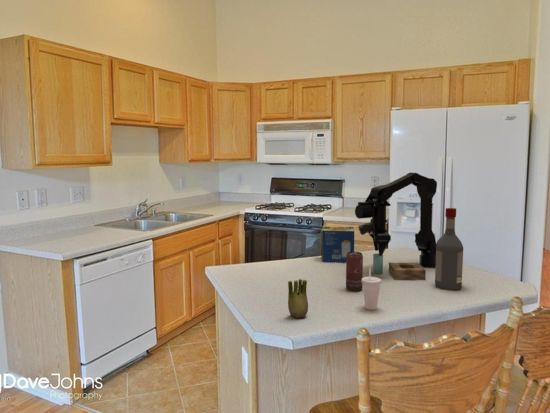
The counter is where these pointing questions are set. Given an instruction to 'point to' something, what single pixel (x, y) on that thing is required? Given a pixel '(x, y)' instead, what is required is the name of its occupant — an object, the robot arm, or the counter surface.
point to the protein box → (337, 243)
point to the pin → (377, 264)
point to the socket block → (407, 271)
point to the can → (354, 271)
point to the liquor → (449, 256)
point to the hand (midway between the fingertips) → (378, 253)
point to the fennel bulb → (297, 299)
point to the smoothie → (371, 291)
